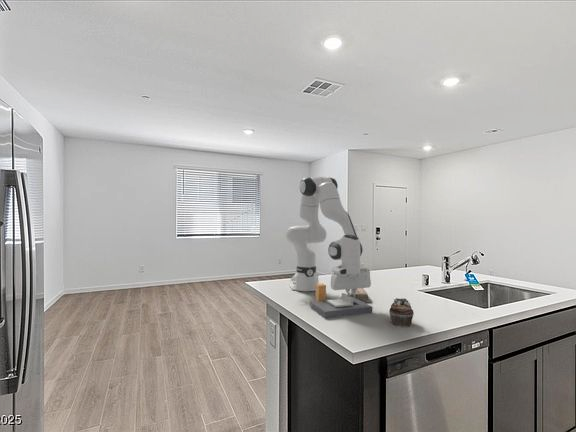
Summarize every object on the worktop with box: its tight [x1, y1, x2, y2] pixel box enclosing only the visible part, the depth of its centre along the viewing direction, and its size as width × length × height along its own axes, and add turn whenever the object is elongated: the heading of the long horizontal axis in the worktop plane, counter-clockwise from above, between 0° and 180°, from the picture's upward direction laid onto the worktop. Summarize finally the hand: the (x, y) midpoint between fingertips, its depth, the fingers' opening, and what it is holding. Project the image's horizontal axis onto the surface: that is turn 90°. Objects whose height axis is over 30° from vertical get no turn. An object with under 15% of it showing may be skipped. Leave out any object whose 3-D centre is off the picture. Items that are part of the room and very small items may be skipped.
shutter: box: [326, 292, 353, 307], centre depth 142 cm, size 9×9×4 cm
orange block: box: [315, 283, 327, 301], centre depth 152 cm, size 4×4×10 cm
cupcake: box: [388, 297, 415, 328], centre depth 125 cm, size 10×10×10 cm
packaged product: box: [349, 288, 373, 303], centre depth 166 cm, size 18×5×10 cm
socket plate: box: [310, 298, 373, 319], centre depth 142 cm, size 16×24×3 cm, turn 108°
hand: (351, 297), depth 144 cm, fingers closed
